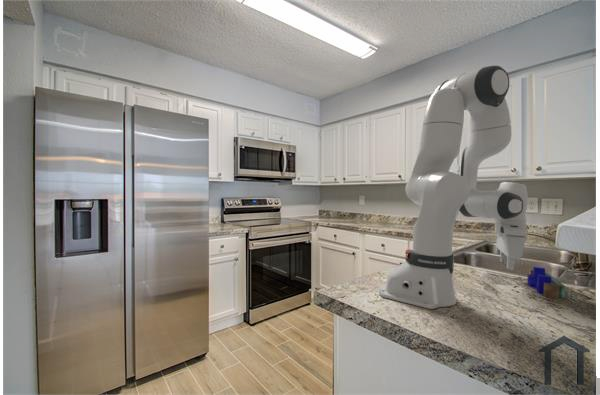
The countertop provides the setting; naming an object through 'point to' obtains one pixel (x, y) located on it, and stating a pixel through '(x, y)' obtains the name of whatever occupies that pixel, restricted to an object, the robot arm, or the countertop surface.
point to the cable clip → (538, 279)
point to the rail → (552, 287)
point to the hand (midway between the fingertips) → (506, 266)
